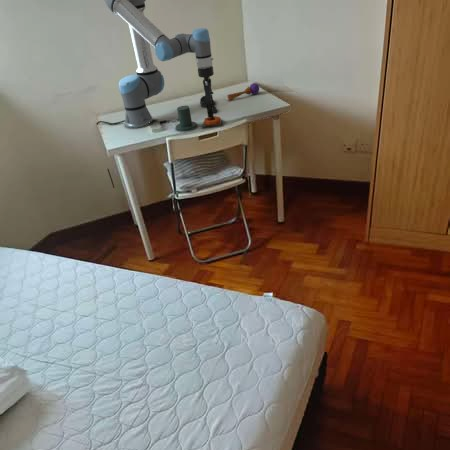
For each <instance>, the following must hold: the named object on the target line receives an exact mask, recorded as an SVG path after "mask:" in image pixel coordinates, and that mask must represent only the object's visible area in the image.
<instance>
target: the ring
mask: <svg viewBox="0 0 450 450" xmlns="http://www.w3.org/2000/svg"><path fill="white" fill-rule="evenodd" d="M220 118H221V117H220V116H217V115H214V120H212V121H210V117H208V116H207V117H205V118H204V120H203V123H204V122H205V124H208V125H212V124H217V123H219V122H220Z"/></svg>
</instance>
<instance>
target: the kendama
mask: <svg viewBox="0 0 450 450" xmlns="http://www.w3.org/2000/svg"><path fill="white" fill-rule="evenodd" d="M259 92H260V85H259V84H258V83H256V82H253V83H251V84H250V85H249V86H247V87H246V88H245V90H243V91H238V92H233V93H230V94H227V95H226V96H227V100H228V101H229V102H230V101H231V100H234V99H236V98H238V97H240V96H242V95H244V94H245V95H246V94H247V95H257V94H258V93H259Z"/></svg>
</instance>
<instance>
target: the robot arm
mask: <svg viewBox="0 0 450 450" xmlns="http://www.w3.org/2000/svg"><path fill="white" fill-rule="evenodd" d="M146 1H147V0H104V2H105V4H106V7H107V8H108V9H109V10H110V11H111V12H112V14H114V15H115V16H116V17H120V18H121V19H122V20H123V21H125V22H126V23H127V24H128V29H129V33H130V37H131V41H132V46H133V50H134V55H135V60H136V64H137V68H136V71H135V73H136V74H130V75H126V76H124V77H122V78H121V79H120V80H119V82H118V88H119V92H120V95H121V99H122V102H123V107H124V110H125V113H124V114H125V115H124V118H125V119H124V120H120V121H117V122H109V121H104V120H99V121H97V122H96V125H99V124H100V123H104V124H108V125H110V126H111V125H118V124H121V123H122V124H123V123H125V127H126V128H128V129H137V128H143V127H147V126H149V125H151V124H152V123H153V122H154V120H153V116H152V114H151V113H150V111H149V109H148V107H147V103H146V100H147V99H150V98H152V97H154V96H157V95H159V94H160V93H162V91H164V88H165V77H164V75H163V74H162V72H161V71H160V70H159V69H158V67H157V66H156V65H155V63H154V58H153V54H152V53H153V52H152V47H153V49H154V54H155V56H156V58H157V59H158V60H159V61H161V62H166V61H170V60H172V59H175V58H177V57H180V56H182V55H185V54H189V53H190V54H192V53H193V54H195V61H196V67H197V75H198V77H199V78H203V79H202V84H203V90H204V96H205V98H206V102H205V104H206V106H207V107H206V112H207V113H206V114H207V117H213V115H214V113H213V109H212V107H213V108H214V106H215V105H213V100H214V97H213V95H214V91H213V90H212V78H211V77H213V76H214V74H215V73H214V67H213V61H214V58H213V56H212V47H211V38H210V32H209V30H208V29H207V28H195V29H193V31H192V33H178V34H175V36H174V37H172V38H169V37H168V36H167V35H166V34H164V33H163V32H162V30H160V29H159V28H158V27H157V26H156V25H155V24H154V23H153V22H152V21H150V19H148V17H147V16H145V13H144V11H145V9H146V4H145V3H146ZM208 100H210V101H208ZM211 100H212V102H211ZM149 122H150V123H149ZM107 173H108V175H109V179H110V181H111V185H112V188H113V189H115V185H114V182H113V178H112V175H111V172H110V169H109V168H107Z"/></svg>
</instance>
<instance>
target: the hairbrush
mask: <svg viewBox="0 0 450 450" xmlns="http://www.w3.org/2000/svg"><path fill="white" fill-rule="evenodd" d="M205 102H206V98H205V95H203V94H202V95H201V97H200V99H199V104H200V106H201V107H202V108H207V106H206V104H205ZM213 105H214V108H213V114H217V113H218V108H217V106H216V103H215V100H214V99H213Z"/></svg>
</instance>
